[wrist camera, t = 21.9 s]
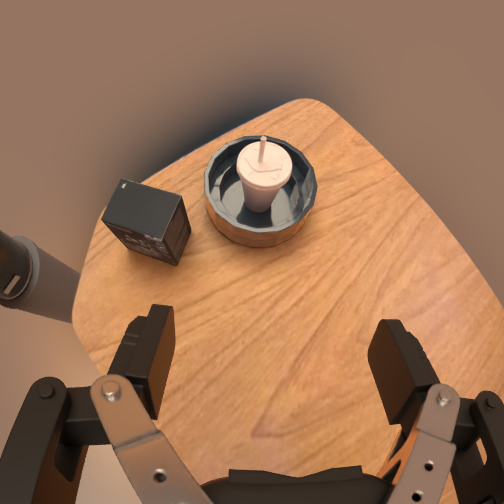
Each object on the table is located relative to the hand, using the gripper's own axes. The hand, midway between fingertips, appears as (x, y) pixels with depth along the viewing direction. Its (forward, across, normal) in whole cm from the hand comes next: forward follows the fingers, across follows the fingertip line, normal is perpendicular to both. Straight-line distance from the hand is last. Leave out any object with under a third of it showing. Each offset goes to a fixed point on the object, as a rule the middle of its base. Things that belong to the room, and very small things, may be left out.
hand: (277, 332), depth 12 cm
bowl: (+34, 0, +6) cm, 35 cm away
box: (+30, +13, +11) cm, 34 cm away
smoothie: (+34, 0, +6) cm, 34 cm away
